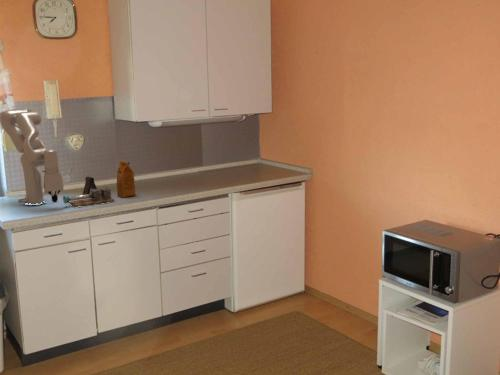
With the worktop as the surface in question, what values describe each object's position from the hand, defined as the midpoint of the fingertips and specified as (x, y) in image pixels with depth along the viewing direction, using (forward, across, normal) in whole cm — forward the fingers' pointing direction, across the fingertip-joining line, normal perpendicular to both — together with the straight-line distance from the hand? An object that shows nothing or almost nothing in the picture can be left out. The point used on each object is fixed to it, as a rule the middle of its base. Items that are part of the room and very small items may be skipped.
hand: (55, 201), depth 345 cm
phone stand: (+4, +27, +20) cm, 34 cm away
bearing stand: (+4, +21, 0) cm, 22 cm away
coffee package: (+4, +45, +6) cm, 46 cm away
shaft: (+2, +15, 0) cm, 15 cm away
